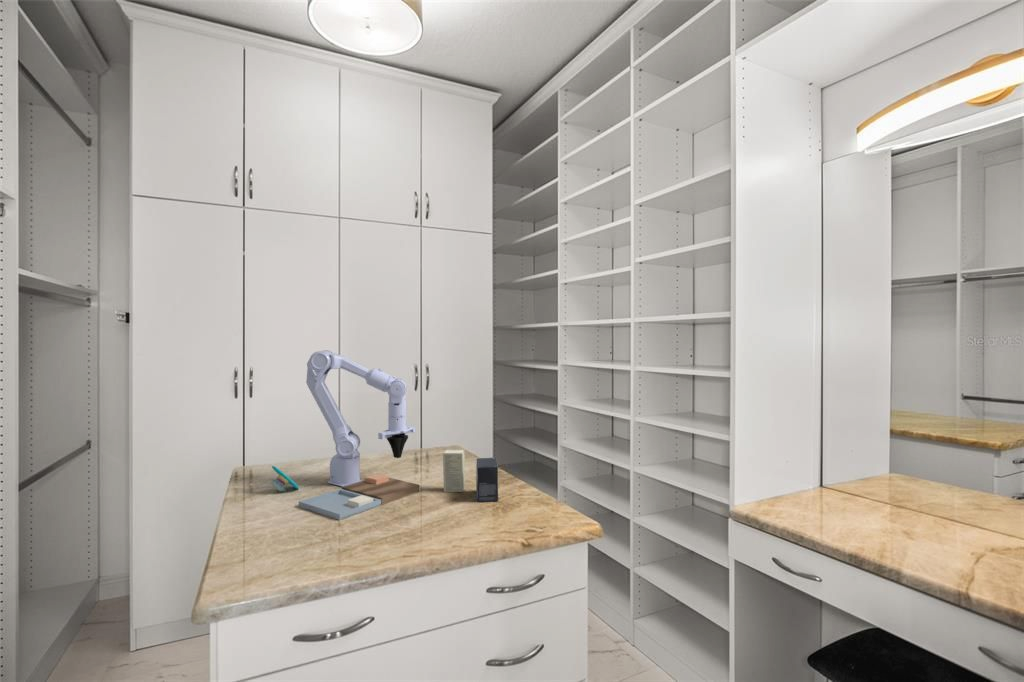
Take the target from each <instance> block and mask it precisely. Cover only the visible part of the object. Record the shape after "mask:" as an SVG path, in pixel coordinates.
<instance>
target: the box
mask: <svg viewBox="0 0 1024 682" xmlns="http://www.w3.org/2000/svg"><path fill="white" fill-rule="evenodd" d="M361 495H362V494H358V493H354V492H351V491H347V490H343V489H341V488H339V489H335V490H332V491H328V492H326V493H325V492H324V493H322V494H318V495H316V496H312V497H309V498H305V499H302V500H299V501H298V508H301V509H305V510H308V511H310V512H313V513H318V514H319V515H323V516H326V517H329V518H332V519H336V520H338V521H341V520H344V519H348V518H349V517H353V516H355V515H358V514H360V513H363V512H366V511H369V510H372V509H374V508H377V507H380V506H382V505H381V500H380V499H376V498H373V497H370V498H373V502H370V503H367V504H364V505H362V506H359V507H356V508H355V507H352V506H349V505H347V500H348V499H351V498H354V497H358V496H361ZM363 496H365V495H363ZM367 497H369V496H367Z"/></svg>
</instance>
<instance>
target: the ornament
mask: <svg viewBox="0 0 1024 682" xmlns="http://www.w3.org/2000/svg"><path fill="white" fill-rule="evenodd" d="M271 468H272V470H274V472H275V473H277V474H278V476H277V478H270V480H269V481H270V482H269V483H270V485H272V486H273V487H274V488H275V489H276V490H277V491H279V492H280V493H283V491H286V485H287V484H290V486H292V487H293V488H294V489H297V490H299V489H300V487H299V486H298V485H297V483H296V482H295V481H294V480H292V478H290V477H289V476H288V475H287V474H286V473H284V472H283V471H282V470H281V469H279V468H278V467H276V465H275V466H274V465H271Z"/></svg>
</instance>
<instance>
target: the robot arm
mask: <svg viewBox="0 0 1024 682" xmlns="http://www.w3.org/2000/svg"><path fill="white" fill-rule="evenodd" d="M306 367H307V369H306V385H307V388H308V389H309V391H310V393H311V394H312V395H311V396H312V397H313V399H314V401H315V402H316V405H317V407H319V409H320V412H321V413H322V415H323V417H324V419H325V421H326V422H327V425H328V427H329V429H330V430H331V432H332V440H333V441H334V444H335V452H336V454H335V455H333V456H332V457H331V459H330V462H329V481H327V484H330V485H334V486H338V487H343V486H346V485H349V484H353V483H356V482H359V481H363V480H364V479H362V478H361V472H360V471H361V470H360V469H361V467H360V466H361V459H360V458H361V455H360V454H361V453H360V452H359V450H358V449H359V448H360V445H361V439H360V436H359V435H358V434H357V433H356V432H354V431H353V429H352V428H351V427H350V425H349V424H347V421H346V420H345V418H344V416H343V414H342V412H341V410H340V409H339V406H338V405H337V403H336V400H335V399H334V398H333V395H332V394H331V392H330V390H329V388H328V386H327V384H326V383H325V381H326V378H327V376H328V373H329V372H330V371H331V370H337V369H343V370H344V371H347V372H350V373H351V374H354V375H357V376H358V377H360V378H362V379H364V380H365V383H366V385H367V386H368V385H369V386H370V387H373V388H375V389H377V390H379V391H381V392H383V393H387V395H388V408H387V409H388V410H387V411H388V412H387V413H388V418H387V419H388V421H387V422H388V423H387V424H388V427H387V428H388V429H385V430H383V431H381V432H378V433H377V436H378V440H385V439H386V440H387V442H388V444H389V446H390V448H391V451H392V454H393V455H392V456H393V458H396V459H400V458H402V454H403V451H404V447H405V444H406V443H407V440H408V439H409V435H408V434H409V433H410V434H411V433H416V425H415V426H413V425H409V426H407V401H406V399H407V397H406V392H407V384H406V383H405V381H404V380H402V378H396V377H397V376H396V375H390V374H388V373H387V372H384V371H383V368H372V369H369V368H367V367H366V366H363V365H361V364H359V363H358V362H356V361H354V360H351V359H350V358H348V357H346V356H344V355H341V354H339V353H336V352H332V351H331V350H327V349H325V350H319V351H315V352H313V353H312V354H311V355H310V357H309V359H308V361H307V363H306Z"/></svg>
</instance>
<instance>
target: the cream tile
mask: <svg viewBox="0 0 1024 682" xmlns="http://www.w3.org/2000/svg"><path fill="white" fill-rule="evenodd" d="M370 502H373V498H370V497H367V496H363V495H361V496H358V497H354V498H351V499H348V500H347V505H349V506H352V507H355V508H356V507H359V506H362V505H364V504H367V503H370Z"/></svg>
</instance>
